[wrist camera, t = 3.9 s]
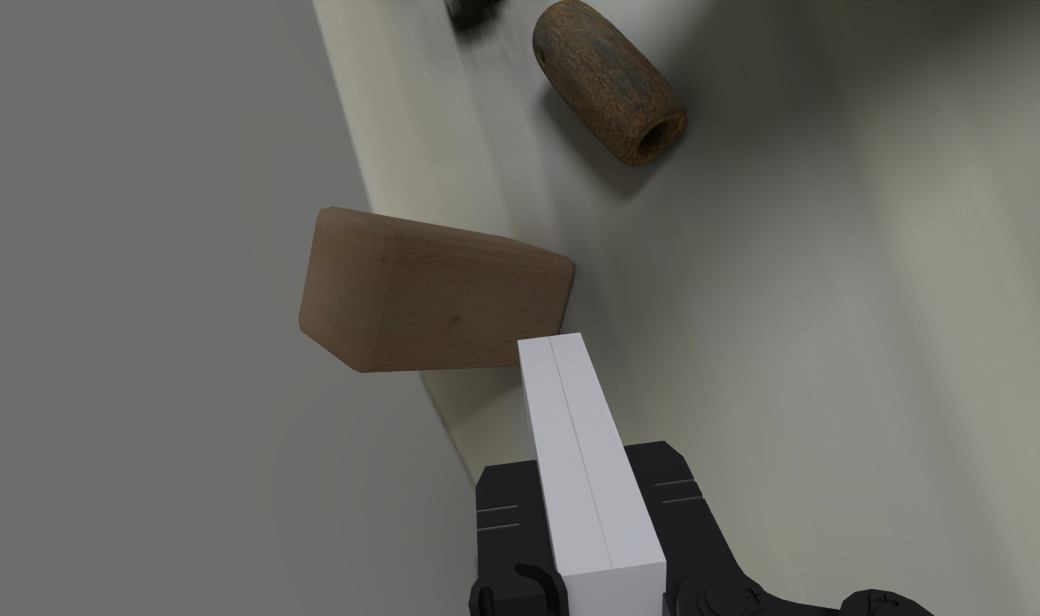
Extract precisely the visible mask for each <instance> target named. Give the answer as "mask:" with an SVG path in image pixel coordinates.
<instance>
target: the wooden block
mask: <svg viewBox="0 0 1040 616" xmlns="http://www.w3.org/2000/svg"><path fill="white" fill-rule="evenodd" d="M574 273H575V264H574V263H573V262H572V261H570V260H569V259H568V258H567V257H565V256H562V255H559V254H556V253H553V252H550V251H546V250H543V249H540V248H537V247H534V246H531V245H528V244H525V243H522V242H519V241H516V240H513V239H509V238H506V237H501V236H496V235H490V234H485V233H479V232H473V231H468V230H462V229H457V228H451V227H445V226H440V225H434V224H429V223H423V222H417V221H412V220H406V219H401V218H395V217H389V216H384V215H378V214H373V213H367V212H361V211H356V210H350V209H345V208H339V207H334V206H333V207H329V208H324V209H321V211H320V212H319V214H318V216H317V221H316V226H315V232H314V238H313V243H312V249H311V254H310V259H309V265H308V270H307V276H306V282H305V287H304V292H303V298H302V303H301V309H300V314H299V325H300V329H301V331H302V332H303V333H305V334H306V335H308V336H309V337H310V338H312V339H313V340H314V341H316V342H317V343H318V344H320V345H321V346H322V347H324V348H325V349H327V350H328V351H329V352H330V353H332V354H333V355H335V356H336V357H337V358H338V359H340V360H341V361H342V362H344V363H345V364H346V365H348V366H349V367H351V368H352V369H353V370H356V371H358V372H361V373H369V372H392V371H415V370H438V369H461V368H483V367H506V366H520V358H519V349H518V340H525V339H532V338H540V337H548V336H556V335H558V333H559V330H560V326H561V322H562V318H563V315H564V311H565V307H566V303H567V300H568V296H569V292H570V288H571V285H572V281H573V277H574Z"/></svg>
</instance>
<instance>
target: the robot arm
mask: <svg viewBox="0 0 1040 616" xmlns="http://www.w3.org/2000/svg"><path fill="white" fill-rule="evenodd" d="M518 349H519V358H520V367H521V376H522V385H523V394H524V403H525V412H526V421H527V430H528V437H529V443H530V449H531V455H532V460H530V461H523V462H515V463H508V464H501V465H493V466H486V467H485V469H484V471H483V473H482V475H481V477H480V479H479V481H478V483H477V485H476V510H477V531H478V532H477V543H478V575H479V577H478V579H477V580H476V582H475V584H474V585H473V586H472V589H471V594H470V599H469V610H470V615H471V616H934V615H933V614H931V613H930V612H929V611H927V610H926V609H924V608H923V607H922V606H920V605H919V604H918V603H916V602H915V601H913V600H910V599H908V598H906V597H903V596H901V595H898V594H896V593H894V592H889V591H882V590H876V589H869V590H863V591H858V592H854V593H853V594H852V595H850V596H849V597H848V598H846V599H845V600H844V601H843V602H842V605H841V609H840V610H838V609H831V608H825V607H818V606H812V605H805V604H799V603H795V602H791V601H787V600H783V599H780V598H778V597H776V596H774V595H771V594H769V593H767V592H766V591H764V590H763V588H762V587H761V586H760V585H759V584H758V583H756V582H755V581H753V580H752V579H750V578H749V577H748V576H746V575H745V574H744V573H743V571H742V570H741V568H740V567H739V565H738V564H737V562H736V560H735V558H734V556H733V554H732V552H731V550H730V548H729V546H728V544H727V542H726V540H725V538H724V537H723V535H722V533H721V531H720V529H719V527H718V525H717V523H716V521H715V519H714V517H713V515H712V513H711V511H710V509H709V507H708V505H707V503H706V501H705V499H703V496H702V493H701V491H700V489H699V487H698V485H697V483H696V482H695V481H694V477H693V475H692V473H691V471H690V469H689V467H688V465H687V463H686V461H685V459H684V457H683V456H682V455H680V454H679V453H678V452H677V451H676V450H675V449H673V448H672V447H671V446H670V445H669V444H667V443H666V442H665V441H658V442H651V443H643V444H636V445H628V446H623V445H622V442H621V439H620V437H619V434H618V431H617V429H616V426H615V424H614V421H613V418H612V416H611V413H610V410H609V408H608V405H607V402H606V400H605V397H604V394H603V392H602V389H601V386H600V384H599V381H598V378H597V376H596V373H595V370H594V368H593V365H592V362H591V360H590V357H589V354H588V352H587V349H586V347H585V344H584V341H583V339H582V336H581V333H580V332H579V333H572V334H564V335H556V336H548V337H540V338H532V339H525V340H518Z"/></svg>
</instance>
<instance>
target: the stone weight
mask: <svg viewBox="0 0 1040 616" xmlns="http://www.w3.org/2000/svg"><path fill="white" fill-rule="evenodd" d="M533 50H534V54H535V57H536V59H537V61H538V63H539V65H540V67H541V69H542V71H543V72H544V74H545V75H546V77H547V78H548V80H549V81H550V82H551V84H552V85H553V86H554V88H555V89H556V91H557V92H558V93H559V94H560V95H561V97H562V98H563V99H564V101H565V102H566V103H567V104H568V106H569V107H570V108H571V109H572V110H573V112H574V113H575V114H576V115H577V116H578V117H579V118H580V120H581V121H582V122H583V123H584V124H585V125H586V127H587V128H588V129H589V130H590V131H591V132H592V133H593V134H594V136H595V137H596V138H597V139H598V140H599V141H600V142H602V143H603V144H604V145H605V146H606V147H607V148H608V150H609V151H610V152H611V153H612V154H614V155H615V156H616V157H617V158H618V159H619V160H621V161H622V162H624V163H625V164H627V165H630V166H642V165H644V164H646V163H649V162H651V161H652V160H654V159H655V158H656V157H657V156H659V155H660V154H661V153H662V152H663V151H664V150H665V149H666V148H667V147H668V146H669V145H670V144H671V143H672V141H673V140H674V139H675V138H677V137H678V136H679V135H680V134H681V133H682V132H683V130H684V129H685V127H686V125H687V122H688V118H687V111H686V108H685V106H684V104H683V102H682V100H681V99H680V97H679V96H678V94H677V93H676V92H675V91H674V89H673V88H672V87H671V85H670V84H669V83H668V82H667V81H666V79H665V78H664V77H663V76H662V75H661V74H660V73H659V72H658V71H657V69H656V68H655V67H654V66H653V65H652V64H651V63H650V62H649V61H648V60H647V59H646V57H645V56H644V55H643V54H642V53H641V52H640V51H639V50H638V49H637V48H636V47H635V46H634V45H633V44H632V43H631V42H630V41H629V40H628V39H627V38H626V37H625V36H624V35H623V34H622V33H621V32H620V31H619V30H618V29H617V28H616V27H615V26H614V25H613V24H612V23H611V22H610V21H608V20H607V19H606V18H604V17H603V16H602V15H601V14H600V13H598V12H597V11H596V10H595V9H593V8H592V7H590V6H589V5H587V4H586V3H584V2H582V1H579V0H563V1H560V2H557V3H555V4H553V5H552V6H550V7H549V8H548V9H547V10H545V11H544V12H543V14H542V15H541V16H540V18H539V19H538V21H537V23H536V26H535V29H534V32H533Z"/></svg>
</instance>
